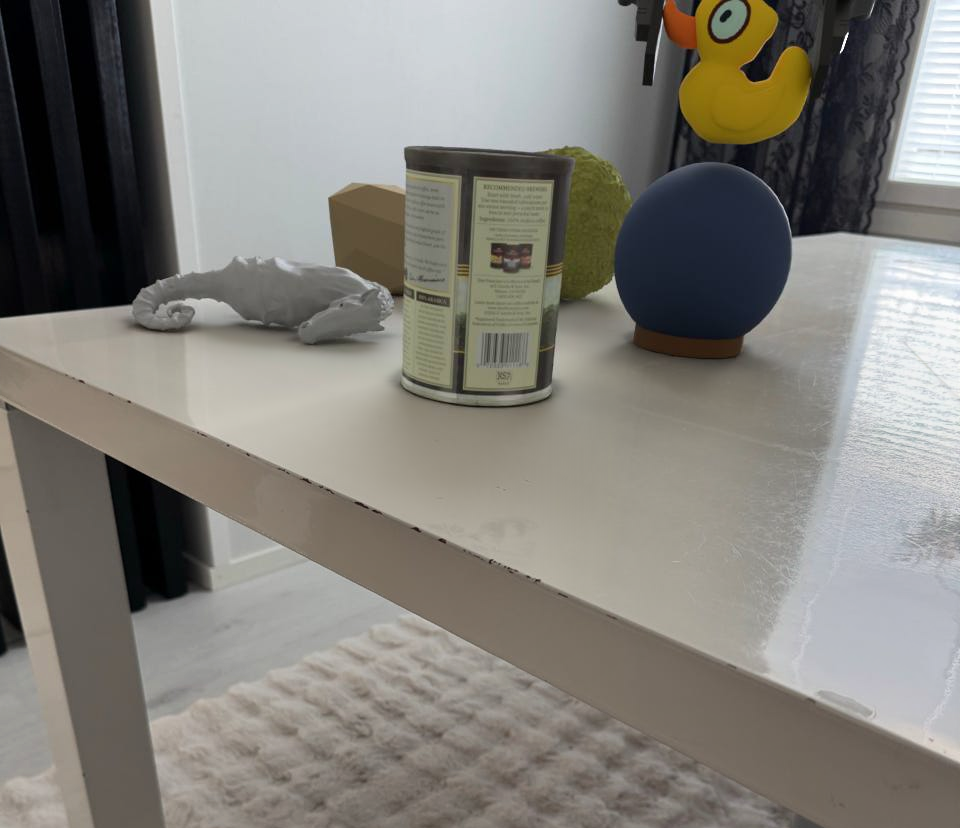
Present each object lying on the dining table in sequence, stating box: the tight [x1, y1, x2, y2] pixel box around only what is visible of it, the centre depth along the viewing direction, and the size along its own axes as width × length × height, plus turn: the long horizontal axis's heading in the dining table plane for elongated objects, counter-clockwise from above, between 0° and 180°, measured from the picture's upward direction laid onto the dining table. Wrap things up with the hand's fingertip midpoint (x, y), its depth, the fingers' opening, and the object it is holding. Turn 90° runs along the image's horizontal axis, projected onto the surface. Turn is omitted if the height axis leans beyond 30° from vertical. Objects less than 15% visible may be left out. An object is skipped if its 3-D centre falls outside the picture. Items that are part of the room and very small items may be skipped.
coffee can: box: [400, 145, 575, 407], centre depth 61 cm, size 10×10×14 cm
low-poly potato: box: [327, 182, 406, 295], centre depth 92 cm, size 15×11×12 cm
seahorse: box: [131, 255, 395, 345], centre depth 74 cm, size 5×12×20 cm
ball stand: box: [614, 161, 793, 359], centre depth 77 cm, size 14×14×14 cm
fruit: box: [535, 144, 634, 301], centre depth 95 cm, size 16×14×15 cm
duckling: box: [662, 0, 813, 145], centre depth 70 cm, size 11×5×10 cm, turn 81°
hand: (733, 76), depth 69 cm, fingers closed on duckling, 11 cm apart
